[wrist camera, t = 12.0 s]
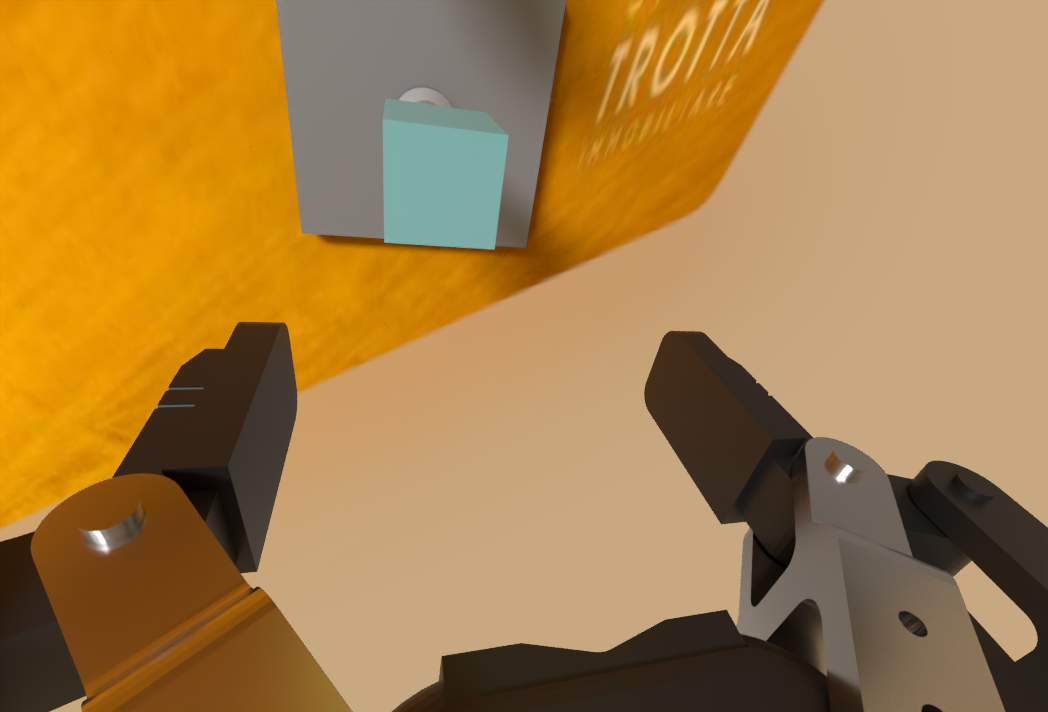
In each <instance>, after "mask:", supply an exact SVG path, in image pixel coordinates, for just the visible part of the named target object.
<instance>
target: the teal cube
mask: <svg viewBox="0 0 1048 712" xmlns="http://www.w3.org/2000/svg"><path fill="white" fill-rule="evenodd" d="M508 137H509V135H508V134H507V133H506V132H505V131H504V130H503V129H502V128H501V127H500V126H499V125H498V124H497V123H496V122H495V121H494V120H493V119H492V117H491V116H490V115H489V114H488V113H487V112H480V111H473V110H466V109H459V108H451V107H444V106H437V105H430V104H423V103H416V102H409V101H402V100H394V99H387V98H385V106H384V113H383V188H384V243H398V244H414V245H430V246H446V247H461V248H477V249H493V250H495V242H496V234H497V226H498V218H499V210H500V202H501V193H502V185H503V177H504V169H505V161H506V153H507V145H508Z"/></svg>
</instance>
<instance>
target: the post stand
mask: <svg viewBox="0 0 1048 712" xmlns="http://www.w3.org/2000/svg"><path fill="white" fill-rule="evenodd" d="M276 3H277V12H278V21H279V30H280V39H281V48H282V57H283V66H284V75H285V84H286V93H287V102H288V111H289V120H290V129H291V138H292V148H293V157H294V166H295V175H296V184H297V193H298V202H299V211H300V220H301V229H302V233H303V234H319V235H334V236H350V237H365V238H380V239H384V188H383V113H384V106H385V98H387V99H394V100H402V101H409V102H416V103H423V104H430V105H437V106H444V107H451V108H459V109H466V110H473V111H480V112H487V113H488V114H489V115H490V116H491V117H492V119H493V120H494V121H495V122H496V123H497V124H498V125H499V126H500V127H501V128H502V129H503V130H504V131H505V132H506V133H507V134H508V135H509V137H508V145H507V153H506V161H505V169H504V177H503V185H502V193H501V202H500V210H499V218H498V226H497V234H496V242H495V246H503V247H519V248H526V246H527V240H528V234H529V227H530V221H531V215H532V209H533V203H534V197H535V190H536V184H537V178H538V172H539V166H540V160H541V153H542V147H543V141H544V135H545V129H546V123H547V116H548V110H549V104H550V98H551V92H552V86H553V80H554V73H555V67H556V61H557V55H558V49H559V43H560V36H561V30H562V24H563V18H564V12H565V6H566V0H276Z"/></svg>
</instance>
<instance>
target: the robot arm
mask: <svg viewBox="0 0 1048 712" xmlns="http://www.w3.org/2000/svg"><path fill="white" fill-rule="evenodd" d="M644 393H645V403H646V406H647V409H648V411H649V412H650V414H651V415H652V417H653V419H654V420H655V422H656V423H657V425H658V426H659V428H660V430H661V431H662V433H663V434H664V436H665V437H666V439H667V440H668V442H669V444H670V445H671V447H672V448H673V450H674V451H675V453H676V454H677V456H678V458H679V459H680V461H681V462H682V464H683V465H684V467H685V468H686V470H687V472H688V473H689V475H690V476H691V478H692V479H693V481H694V482H695V484H696V486H697V487H698V489H699V490H700V492H701V493H702V495H703V496H704V498H705V500H706V501H707V502H708V504H709V506H710V507H711V509H712V511H713V512H714V514H715V515H716V517H717V518H718V520H719V521H720V523H721V524H728V523H738V522H747V524H748V525H749V526H750V528H749V530H748V531H747V533H746V534H745V536H744V540H743V552H742V553H743V554H742V570H741V587H740V604H739V617H738V622H737V626H735V624H734V622H733V620H732V619H731V617H730V615H729V613H728V611H727V610H722V611H716V612H710V613H704V614H698V615H692V616H686V617H680V618H673V619H667V620H664V621H662V622H660V623H658V624H657V625H655V626H653V627H651V628H649V629H647V630H646V631H644V632H642V633H640V634H638V635H637V636H635V637H633V638H631V639H629V640H627V641H625V642H624V643H622V644H620V645H618V646H616V647H615V648H613V649H611V650H608V651H606V652H588V651H580V650H571V649H564V648H555V647H548V646H539V645H530V644H523V643H520V644H514V645H508V646H502V647H495V648H489V649H484V650H478V651H471V652H465V653H459V654H452V655H446V656H442V659H441V667H440V676H439V681H438V682H436V683H434V684H432V685H430V686H429V687H427V688H424V689H423V690H421V691H419V692H418V693H416V694H415V695H413V696H412V697H410V698H409V699H407V700H406V701H404V702H403V703H402V704H400V705H399V706H398V707H397V708H396V709H394V710H393V711H392V712H1048V528H1047V527H1046V526H1045V525H1044V524H1043V523H1041V522H1040V521H1039V520H1038V519H1036V518H1035V517H1034V516H1033V515H1032V514H1030V513H1029V512H1028V511H1027V510H1025V509H1024V508H1023V507H1022V506H1020V505H1019V504H1018V503H1017V502H1016V501H1014V500H1013V499H1012V498H1011V497H1010V496H1008V495H1007V494H1006V493H1005V492H1003V491H1002V490H1001V489H1000V488H998V487H997V486H996V485H994V484H993V483H991V482H990V481H989V480H987V479H985V478H984V477H982V476H980V475H979V474H977V473H975V472H973V471H971V470H969V469H967V468H964V467H961V466H959V465H956V464H953V463H949V462H945V461H932V462H929V463H928V464H926V466H925V467H924V468H923V469H922V470H921V471H920V472H919V473H918V475H917V476H916V477H915V478H914V479H908V478H903V477H899V476H894V475H888V474H886V473H885V471H884V470H883V469H882V468H881V467H880V466H879V465H878V464H877V463H876V462H875V461H874V460H873V459H871V458H870V457H869V456H868V455H866V454H865V453H863V452H862V451H860V450H858V449H857V448H855V447H853V446H851V445H848V444H846V443H844V442H842V441H838V440H835V439H831V438H825V437H816V438H813V437H812V436H811V435H810V434H809V433H808V432H807V431H806V430H805V429H804V428H803V427H802V426H801V425H800V424H799V423H798V422H797V421H796V420H795V419H794V418H793V417H792V416H791V415H790V414H789V413H788V412H787V411H786V410H785V409H784V408H783V407H782V406H781V405H780V404H779V403H778V402H777V401H776V400H775V399H774V398H773V397H772V396H768V392H767V391H766V390H765V389H764V388H763V387H762V386H761V385H760V384H759V383H756V380H755V379H754V378H753V377H752V376H751V375H750V374H749V373H748V372H747V371H746V370H745V369H744V368H743V367H742V366H741V365H740V364H738V363H737V362H735V361H734V360H732V359H730V358H729V357H727V356H726V355H725V354H724V353H723V352H722V351H721V350H720V349H719V348H718V346H716V344H715V343H714V342H712V340H710V338H709V337H708V336H707V335H706V334H704V333H702V332H694V331H687V332H686V331H670V332H668V333H667V334H666V335H665V336H664V337H663V339H662V342H661V344H660V347H659V350H658V352H657V355H656V358H655V361H654V363H653V366H652V369H651V371H650V374H649V377H648V379H647V382H646V386H645V392H644ZM296 412H297V388H296V381H295V374H294V367H293V360H292V353H291V346H290V339H289V333H288V328H287V326H286V324H285V323H270V322H239V323H238V324H237V326H236V327H235V329H234V331H233V333H232V335H231V337H230V339H229V341H228V343H227V345H226V346H225V348H224V349H205V350H203V351H202V352H200V353H199V354H198V355H196V356H195V357H193V358H192V359H191V360H189V361H188V362H186V363H185V364H184V365H182V366H181V368H180V369H179V371H178V372H177V374H176V376H175V377H174V379H173V380H172V382H171V384H170V385H169V391H166V392H165V393H164V395H163V397H162V398H161V400H160V401H159V403H158V409H154V411H153V413H152V414H151V416H150V418H149V419H148V421H147V422H146V424H145V426H144V427H143V429H142V430H141V432H140V434H139V435H138V437H137V439H136V440H135V442H134V443H133V445H132V447H131V448H130V450H129V451H128V453H127V455H126V456H125V458H124V460H123V461H122V463H121V464H120V466H119V468H118V469H117V471H116V472H115V474H114V476H113V477H112V478H111V479H107V480H104V481H101V482H99V483H96V484H93V485H91V486H89V487H87V488H85V489H83V490H81V491H79V492H77V493H75V494H74V495H72V496H70V497H69V498H67V499H66V500H64V501H63V502H62V503H60V504H59V505H58V506H57V507H55V508H54V509H53V510H52V511H51V512H50V513H49V514H48V515H47V516H46V517H45V518H44V519H43V520H42V522H41V523H40V525H39V526H38V528H37V529H36V531H35V532H31V533H28V534H25V535H22V536H19V537H16V538H12V539H9V540H5V541H2V542H0V712H49V711H52V710H54V709H56V708H58V707H61V706H63V705H65V704H68V703H70V702H72V701H75V700H77V699H80V698H82V697H84V696H87V699H86V700H85V701H83V702H82V705H81V709H82V712H353V711H352V710H351V709H350V707H349V706H348V704H346V702H345V700H344V699H343V698H342V696H341V695H340V693H339V692H338V691H337V689H336V688H335V686H334V685H333V684H332V682H331V681H330V680H329V678H328V677H327V675H326V674H325V673H324V671H323V670H322V668H321V667H320V666H319V664H318V663H317V662H316V660H315V659H314V657H313V656H312V654H311V653H310V652H309V650H308V649H307V647H306V646H305V645H304V643H303V642H302V640H301V639H300V638H299V636H298V635H297V634H296V632H295V631H294V629H293V628H292V627H291V625H290V624H289V622H288V621H287V620H286V618H285V617H284V615H283V614H282V613H281V611H280V610H279V609H278V607H277V606H276V604H275V603H274V602H273V601H272V599H271V598H270V597H269V596H268V594H267V593H266V592H265V591H264V590H263V589H261V588H260V587H256V588H254V589H253V588H251V587H250V585H249V584H248V583H247V582H246V580H245V579H244V578H243V576H242V575H241V573H248V572H257V570H258V566H259V562H260V558H261V554H262V550H263V546H264V542H265V538H266V534H267V530H268V526H269V522H270V518H271V514H272V510H273V506H274V502H275V498H276V494H277V491H278V486H279V483H280V478H281V475H282V470H283V467H284V462H285V459H286V455H287V451H288V447H289V443H290V439H291V435H292V431H293V427H294V423H295V419H296ZM971 561H973V562H974V563H975V564H976V565H977V566H978V567H979V568H980V569H981V570H982V571H983V572H984V573H985V574H986V575H987V576H988V577H989V578H990V579H991V580H992V581H993V582H994V583H995V584H996V585H997V586H998V587H999V588H1000V589H1001V590H1002V591H1003V592H1004V593H1005V594H1006V595H1007V596H1008V597H1009V598H1010V599H1011V600H1012V601H1013V602H1015V604H1016V605H1017V606H1018V607H1019V608H1020V609H1021V610H1022V611H1023V612H1024V613H1025V614H1026V615H1027V616H1028V617H1029V618H1030V620H1031V621H1032V623H1033V625H1034V626H1035V629H1036V631H1037V636H1038V642H1037V646H1036V647H1035V649H1034V650H1033V651H1031V652H1030V653H1028V654H1027V655H1025V656H1024V657H1022V658H1021V659H1019V660H1017V661H1016V662H1014V661H1013V660H1012V659H1011V658H1010V657H1009V655H1008V654H1007V653H1006V652H1005V651H1004V650H1003V649H1002V648H1001V647H1000V646H999V645H998V643H996V641H995V640H994V639H993V638H992V637H991V636H990V635H989V634H988V632H987V631H986V630H985V629H984V628H983V627H982V626H981V625H980V624H979V623H978V622H977V620H976V619H975V618H974V617H973V616H972V615H971V614H970V613H969V612H968V611H967V609H966V606H965V603H964V601H963V598H962V595H961V593H960V590H959V588H958V585H957V583H956V581H955V580H954V578H953V576H955V575H956V574H957V573H958V572H959V571H960V570H961V569H963V568H964V567H965V566H966V565H967V564H968V563H970V562H971Z"/></svg>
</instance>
